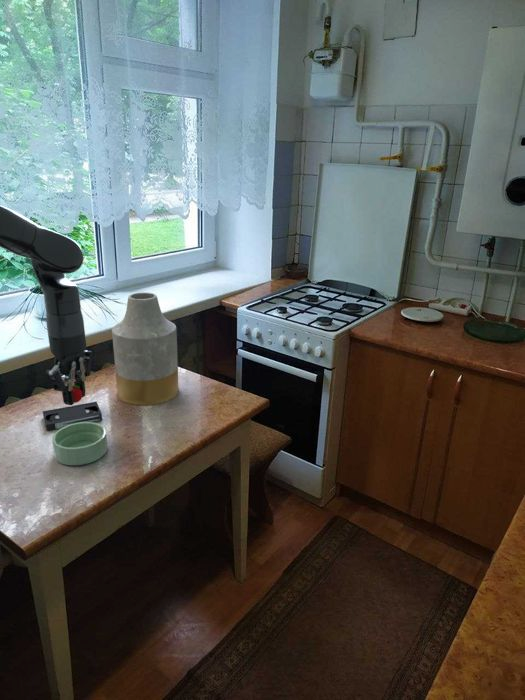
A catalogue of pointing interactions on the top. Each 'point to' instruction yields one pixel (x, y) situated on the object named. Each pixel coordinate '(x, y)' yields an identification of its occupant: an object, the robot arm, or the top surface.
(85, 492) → the top surface
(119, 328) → the vase
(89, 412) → the vhs tape
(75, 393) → the strawberry
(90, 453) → the bowl
